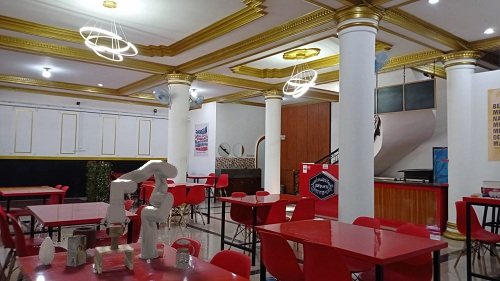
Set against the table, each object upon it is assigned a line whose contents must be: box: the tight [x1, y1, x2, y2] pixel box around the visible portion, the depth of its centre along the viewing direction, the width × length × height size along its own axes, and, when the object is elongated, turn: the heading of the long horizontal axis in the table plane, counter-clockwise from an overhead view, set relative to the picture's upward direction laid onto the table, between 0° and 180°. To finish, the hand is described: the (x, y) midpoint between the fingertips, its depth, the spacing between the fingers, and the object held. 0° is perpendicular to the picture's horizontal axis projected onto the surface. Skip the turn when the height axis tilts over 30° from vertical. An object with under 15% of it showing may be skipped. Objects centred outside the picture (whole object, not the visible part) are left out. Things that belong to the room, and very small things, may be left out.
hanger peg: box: [107, 224, 124, 250], centre depth 214 cm, size 7×7×14 cm
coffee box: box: [66, 235, 87, 267], centre depth 220 cm, size 9×6×16 cm
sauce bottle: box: [38, 233, 56, 266], centre depth 218 cm, size 8×8×18 cm
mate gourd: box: [71, 223, 100, 259], centre depth 239 cm, size 16×14×20 cm
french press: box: [173, 222, 195, 269], centre depth 223 cm, size 10×12×25 cm
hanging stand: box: [93, 244, 135, 274], centre depth 213 cm, size 18×14×11 cm
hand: (115, 234), depth 214 cm, fingers closed on hanger peg, 7 cm apart
